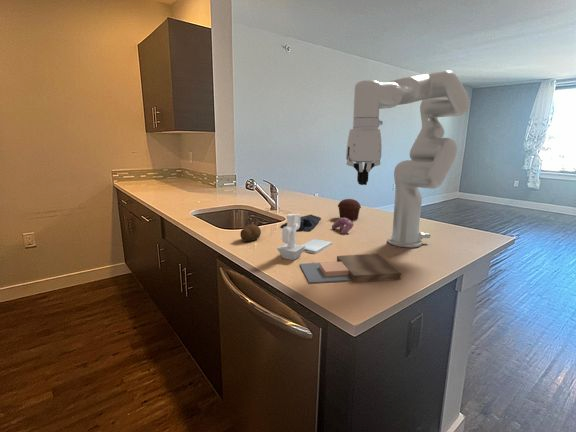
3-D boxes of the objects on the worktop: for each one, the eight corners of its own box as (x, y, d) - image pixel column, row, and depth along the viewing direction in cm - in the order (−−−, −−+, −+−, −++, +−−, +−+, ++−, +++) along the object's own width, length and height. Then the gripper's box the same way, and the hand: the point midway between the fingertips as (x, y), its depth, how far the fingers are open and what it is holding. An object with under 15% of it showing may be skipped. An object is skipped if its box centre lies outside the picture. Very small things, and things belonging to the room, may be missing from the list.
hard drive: (313, 238, 127) (296, 246, 117) (332, 242, 122) (316, 250, 112) (313, 242, 127) (296, 250, 117) (331, 246, 123) (315, 255, 113)
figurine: (275, 259, 107) (274, 215, 104) (289, 251, 115) (289, 210, 112) (294, 263, 103) (294, 218, 100) (307, 254, 111) (307, 212, 108)
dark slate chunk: (326, 222, 158) (326, 213, 157) (308, 233, 139) (308, 223, 138) (297, 219, 165) (298, 210, 164) (277, 229, 146) (277, 219, 145)
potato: (236, 241, 126) (235, 226, 125) (251, 235, 134) (251, 221, 133) (249, 244, 123) (248, 228, 121) (264, 238, 131) (264, 223, 129)
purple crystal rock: (349, 237, 138) (356, 222, 137) (341, 233, 136) (348, 218, 136) (337, 231, 147) (344, 217, 146) (330, 227, 145) (336, 213, 144)
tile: (341, 266, 100) (341, 261, 100) (348, 275, 94) (348, 270, 93) (319, 267, 99) (319, 262, 99) (325, 276, 92) (325, 271, 92)
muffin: (362, 217, 167) (363, 198, 164) (358, 222, 157) (359, 202, 154) (340, 215, 171) (340, 197, 169) (334, 220, 161) (335, 200, 159)
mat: (336, 262, 104) (336, 261, 104) (350, 280, 91) (350, 279, 90) (299, 264, 102) (299, 263, 102) (309, 283, 89) (309, 282, 89)
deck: (377, 259, 107) (377, 253, 107) (400, 279, 92) (401, 272, 91) (336, 261, 105) (337, 255, 105) (353, 282, 90) (354, 275, 89)
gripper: (383, 125, 103) (379, 182, 107) (338, 124, 100) (336, 183, 105) (394, 124, 95) (389, 185, 100) (346, 123, 93) (343, 186, 97)
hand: (362, 184), depth 102 cm, fingers closed
